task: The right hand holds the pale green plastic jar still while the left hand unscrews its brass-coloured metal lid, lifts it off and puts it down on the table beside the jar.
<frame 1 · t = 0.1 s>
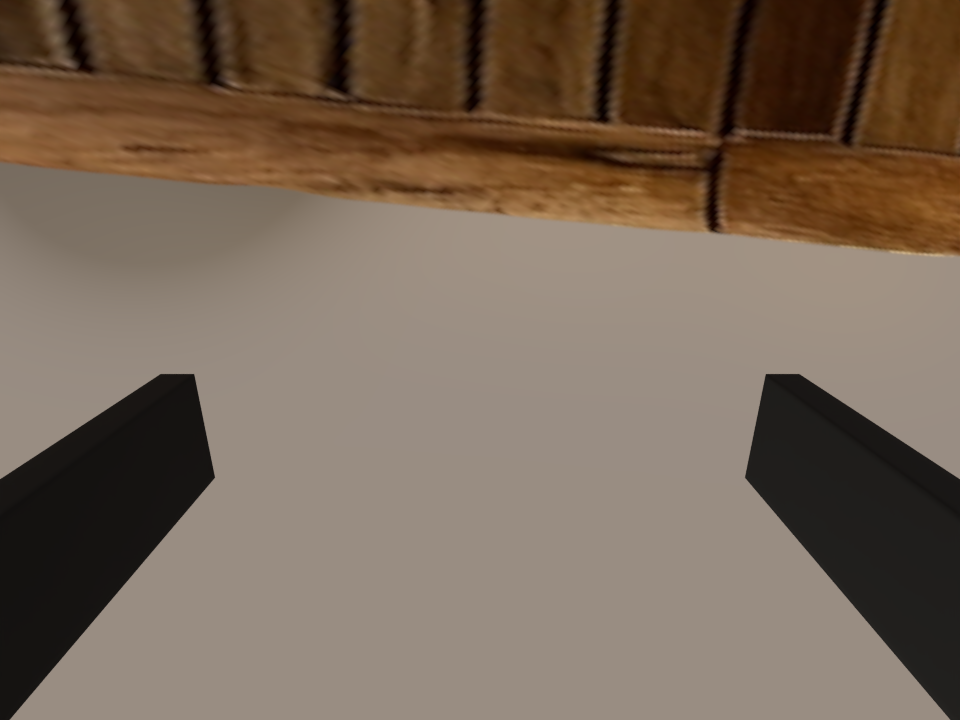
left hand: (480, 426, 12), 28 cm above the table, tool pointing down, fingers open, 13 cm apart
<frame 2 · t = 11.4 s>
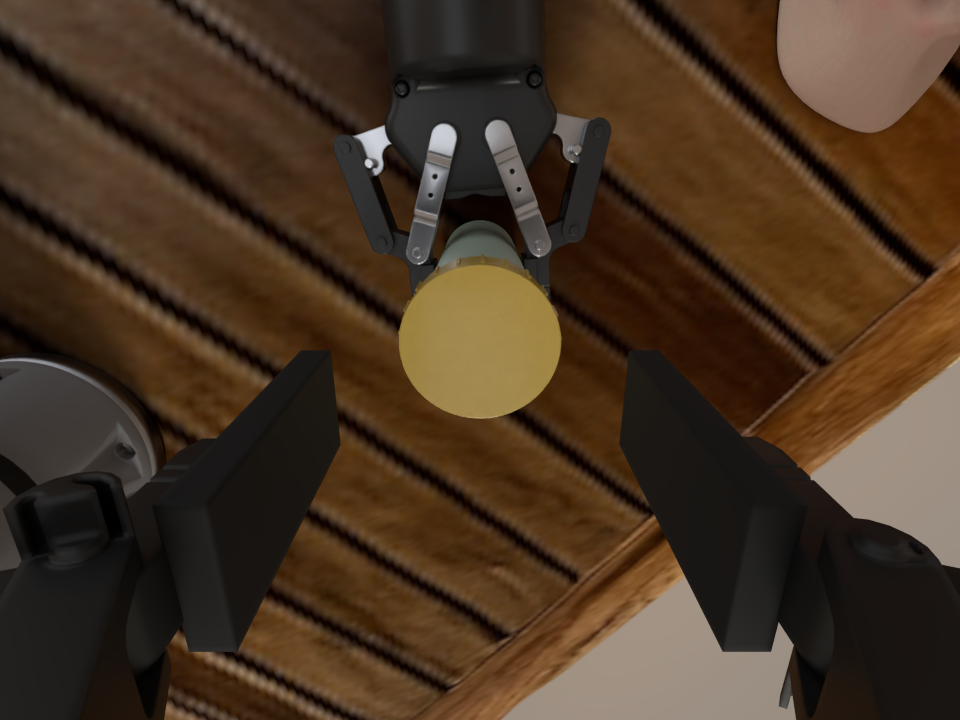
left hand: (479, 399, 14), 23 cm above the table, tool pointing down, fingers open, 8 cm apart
right hand: (483, 322, 30), fingers closed on jar, 4 cm apart
anatomical model: (870, 2, 30), on the table
lid: (479, 342, 18), point 18 cm above the table, screwed on, not yet turned
jar: (480, 256, 35), on the table, touching right hand
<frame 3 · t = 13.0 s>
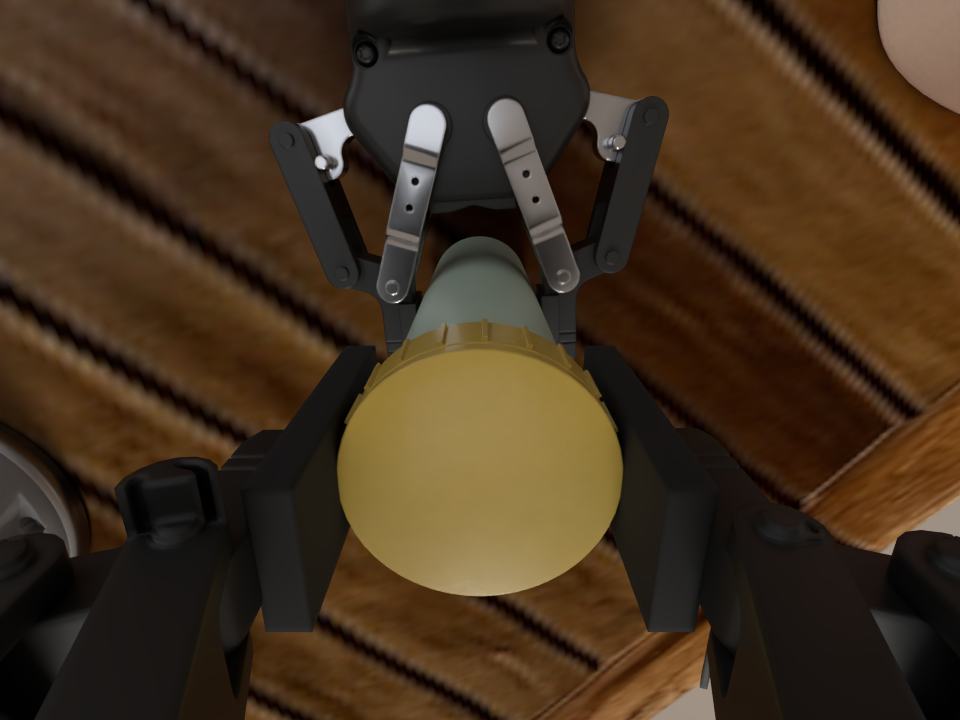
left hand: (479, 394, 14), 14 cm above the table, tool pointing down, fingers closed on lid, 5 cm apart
right hand: (484, 377, 22), fingers closed on jar, 4 cm apart
lid: (479, 474, 10), point 18 cm above the table, screwed on, not yet turned, touching left hand
jar: (479, 282, 28), on the table, touching right hand
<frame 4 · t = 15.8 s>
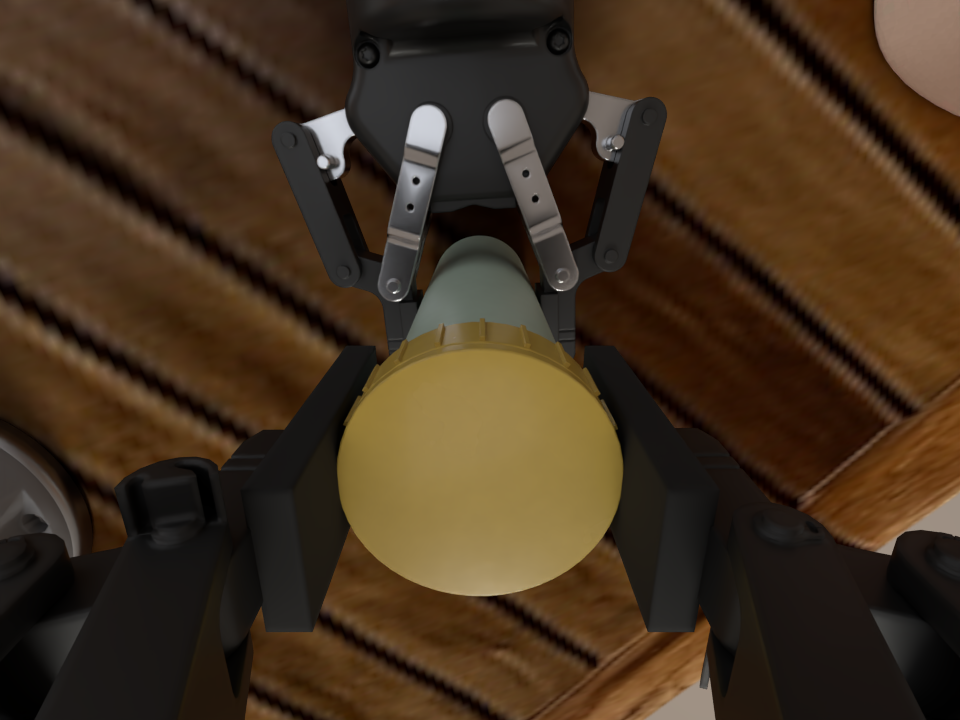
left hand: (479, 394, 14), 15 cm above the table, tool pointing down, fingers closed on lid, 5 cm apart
right hand: (484, 375, 22), fingers closed on jar, 4 cm apart
lid: (480, 474, 10), point 18 cm above the table, turned 70° so far, risen 0.2 cm, still on its thread, touching left hand
jar: (479, 281, 28), on the table, touching right hand
when the left hand's fingers open (0 cm above the table, at t = 23.2 s): lid drops 3 cm, point 1 cm above the table.
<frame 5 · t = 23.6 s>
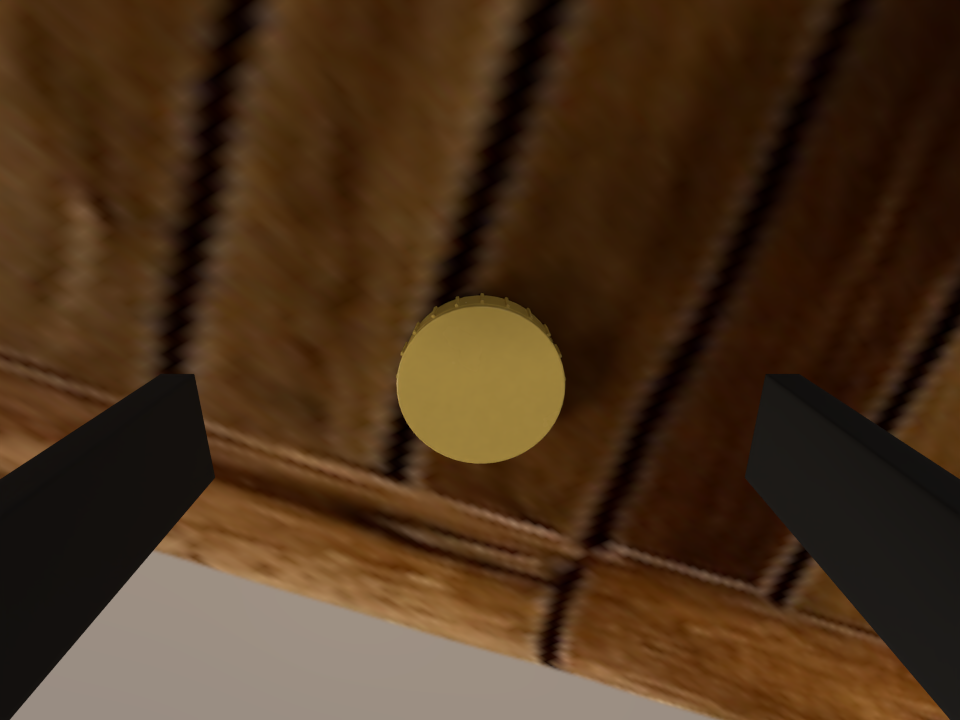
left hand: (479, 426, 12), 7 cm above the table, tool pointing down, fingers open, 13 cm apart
lid: (480, 385, 18), point 1 cm above the table, off its thread
when the right hand's fingers open (7 cm above the table, at t = 23.8 s): jar stays where it is, on the table.
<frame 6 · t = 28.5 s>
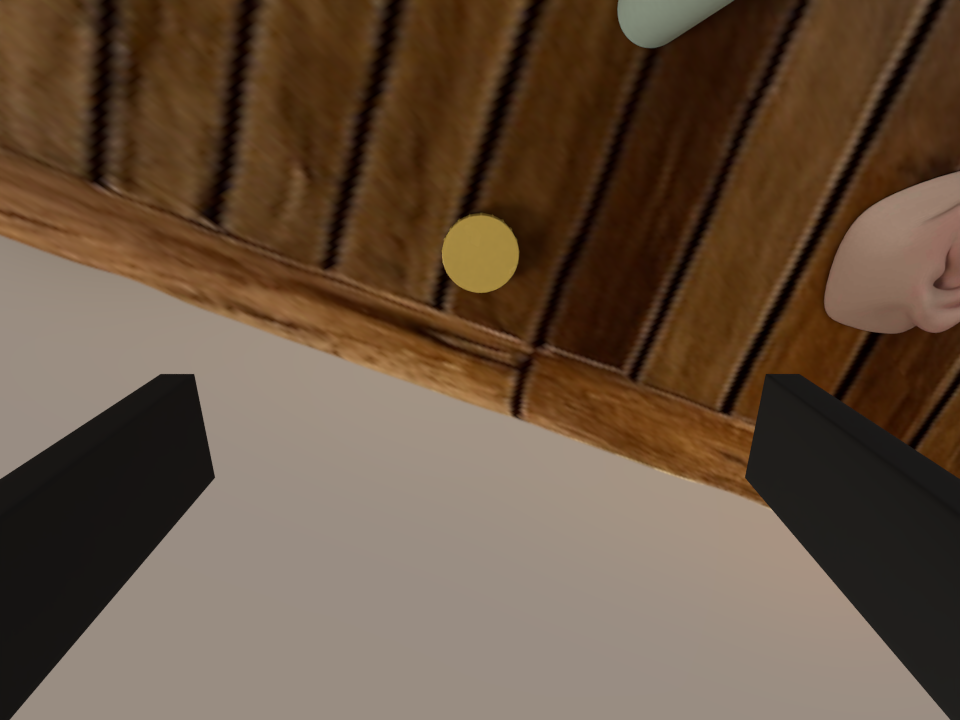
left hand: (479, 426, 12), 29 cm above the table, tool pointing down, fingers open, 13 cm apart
anatomical model: (912, 257, 40), on the table
lid: (480, 254, 38), point 1 cm above the table, off its thread
jar: (654, 6, 34), on the table
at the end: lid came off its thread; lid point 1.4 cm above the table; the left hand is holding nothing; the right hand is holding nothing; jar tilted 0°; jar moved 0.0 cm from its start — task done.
